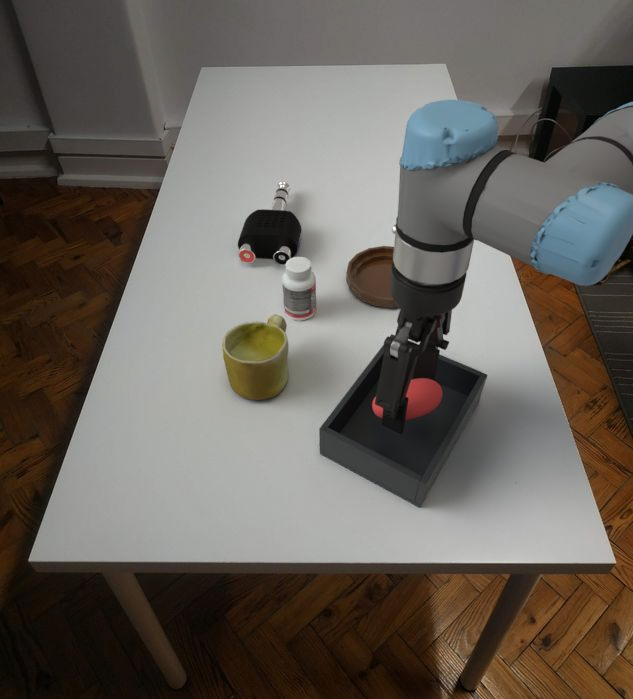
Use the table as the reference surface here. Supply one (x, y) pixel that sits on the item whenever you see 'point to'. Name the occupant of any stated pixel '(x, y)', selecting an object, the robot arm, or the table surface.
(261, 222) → the audio adapter
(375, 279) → the plate
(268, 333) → the mug
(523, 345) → the table surface
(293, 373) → the table surface
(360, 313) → the table surface
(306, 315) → the pill bottle
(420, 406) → the stress ball
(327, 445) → the bin
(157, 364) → the table surface
